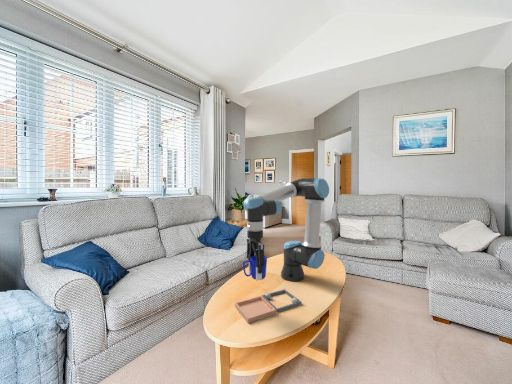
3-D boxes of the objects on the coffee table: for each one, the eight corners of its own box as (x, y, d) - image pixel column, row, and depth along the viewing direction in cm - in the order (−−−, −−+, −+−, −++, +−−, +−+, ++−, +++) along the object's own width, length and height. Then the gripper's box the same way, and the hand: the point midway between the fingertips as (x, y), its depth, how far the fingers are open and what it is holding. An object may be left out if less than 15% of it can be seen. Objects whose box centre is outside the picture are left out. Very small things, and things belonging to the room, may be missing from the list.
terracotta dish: (260, 299, 123) (260, 295, 123) (276, 313, 109) (276, 309, 109) (234, 306, 116) (234, 302, 116) (247, 323, 102) (247, 318, 102)
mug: (240, 276, 113) (240, 257, 113) (263, 273, 118) (263, 254, 117) (245, 284, 106) (245, 262, 105) (269, 279, 110) (269, 259, 110)
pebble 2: (295, 301, 120) (295, 295, 120) (298, 304, 118) (298, 298, 118) (290, 302, 119) (290, 297, 119) (294, 305, 116) (294, 300, 116)
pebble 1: (268, 296, 125) (268, 291, 125) (271, 299, 123) (271, 293, 123) (264, 298, 124) (264, 292, 124) (267, 300, 121) (267, 295, 121)
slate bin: (284, 291, 131) (284, 289, 131) (301, 304, 118) (301, 301, 118) (261, 298, 124) (261, 295, 124) (276, 312, 111) (276, 309, 111)
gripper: (239, 226, 117) (239, 270, 119) (258, 235, 100) (258, 286, 101) (252, 225, 121) (252, 268, 122) (272, 233, 103) (272, 283, 105)
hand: (255, 276), depth 112 cm, fingers closed on mug, 7 cm apart
